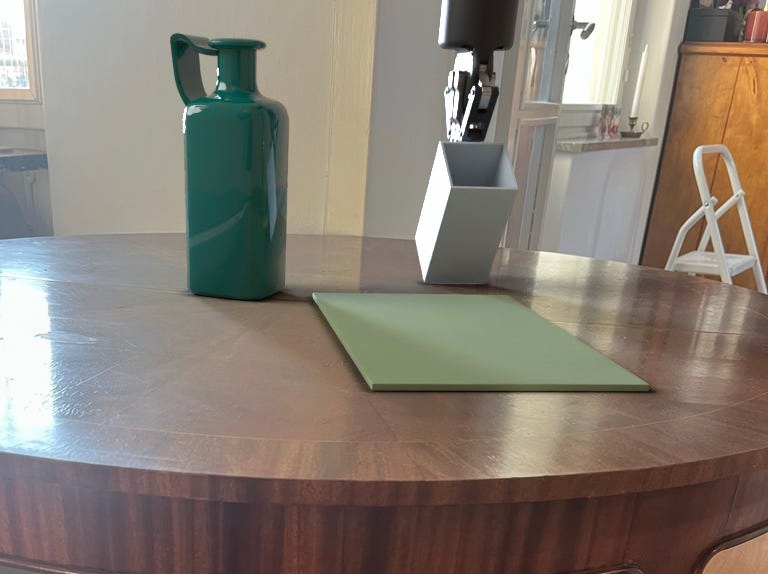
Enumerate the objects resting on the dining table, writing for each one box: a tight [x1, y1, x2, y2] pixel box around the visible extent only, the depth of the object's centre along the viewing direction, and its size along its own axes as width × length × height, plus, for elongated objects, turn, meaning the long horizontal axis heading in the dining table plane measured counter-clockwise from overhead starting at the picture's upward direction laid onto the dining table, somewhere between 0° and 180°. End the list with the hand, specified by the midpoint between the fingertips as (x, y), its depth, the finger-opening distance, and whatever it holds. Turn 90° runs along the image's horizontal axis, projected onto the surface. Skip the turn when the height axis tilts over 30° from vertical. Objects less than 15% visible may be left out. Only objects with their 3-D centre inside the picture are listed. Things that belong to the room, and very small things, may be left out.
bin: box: [414, 140, 520, 284], centre depth 101 cm, size 7×7×12 cm
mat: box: [312, 292, 651, 392], centre depth 81 cm, size 20×34×1 cm, turn 6°
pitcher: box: [169, 32, 290, 301], centre depth 91 cm, size 10×8×22 cm
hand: (460, 186), depth 103 cm, fingers closed
